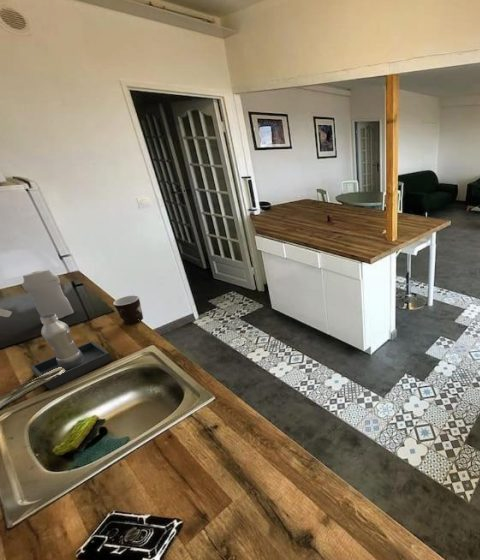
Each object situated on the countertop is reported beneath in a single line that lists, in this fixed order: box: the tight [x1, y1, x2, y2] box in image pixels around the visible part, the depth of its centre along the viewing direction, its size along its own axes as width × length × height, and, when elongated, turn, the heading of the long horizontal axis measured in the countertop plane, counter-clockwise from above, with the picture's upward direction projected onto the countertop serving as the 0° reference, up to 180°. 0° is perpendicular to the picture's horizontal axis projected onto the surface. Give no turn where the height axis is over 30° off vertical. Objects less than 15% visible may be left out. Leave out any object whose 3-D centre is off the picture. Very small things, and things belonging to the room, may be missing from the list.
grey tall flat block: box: [21, 269, 75, 320], centre depth 132 cm, size 11×4×22 cm, turn 146°
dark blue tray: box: [29, 340, 113, 391], centre depth 107 cm, size 17×14×4 cm
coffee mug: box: [112, 294, 144, 325], centre depth 132 cm, size 12×9×10 cm
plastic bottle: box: [39, 313, 84, 369], centre depth 103 cm, size 6×7×20 cm
